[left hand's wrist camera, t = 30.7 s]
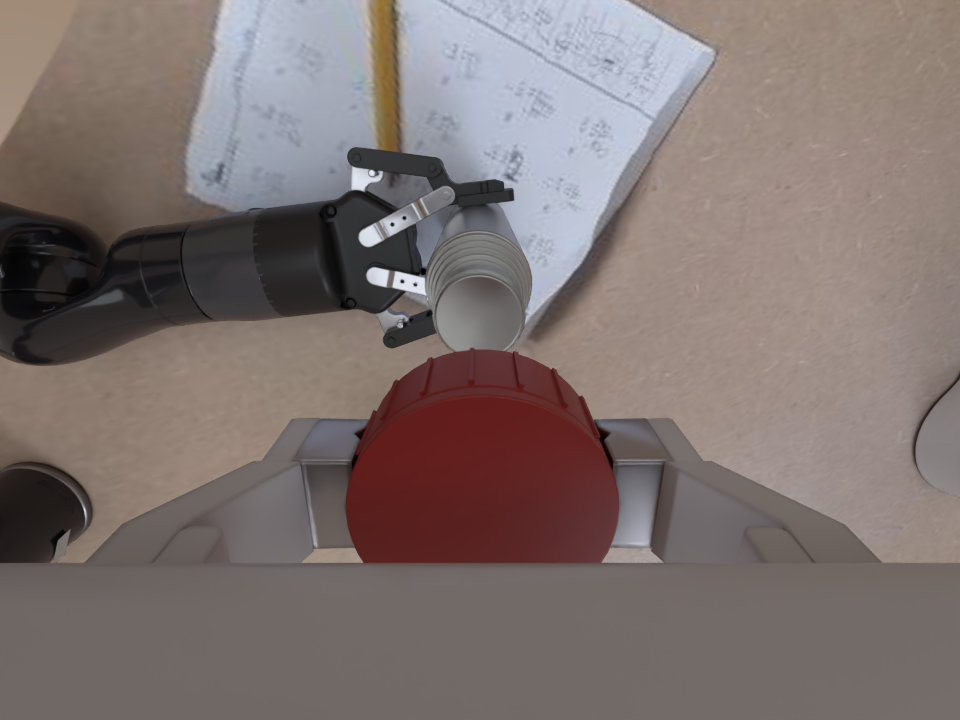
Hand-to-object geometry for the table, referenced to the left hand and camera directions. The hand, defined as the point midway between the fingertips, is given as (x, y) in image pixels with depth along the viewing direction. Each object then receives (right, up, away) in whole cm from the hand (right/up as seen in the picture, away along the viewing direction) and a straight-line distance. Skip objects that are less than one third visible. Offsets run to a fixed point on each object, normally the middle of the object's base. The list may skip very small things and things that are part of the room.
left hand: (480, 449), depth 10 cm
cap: (0, -1, -2) cm, 2 cm away
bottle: (0, +12, +31) cm, 33 cm away
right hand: (+2, +10, +25) cm, 27 cm away
